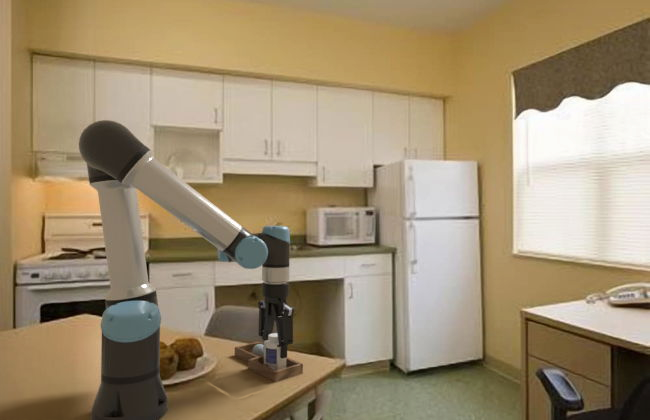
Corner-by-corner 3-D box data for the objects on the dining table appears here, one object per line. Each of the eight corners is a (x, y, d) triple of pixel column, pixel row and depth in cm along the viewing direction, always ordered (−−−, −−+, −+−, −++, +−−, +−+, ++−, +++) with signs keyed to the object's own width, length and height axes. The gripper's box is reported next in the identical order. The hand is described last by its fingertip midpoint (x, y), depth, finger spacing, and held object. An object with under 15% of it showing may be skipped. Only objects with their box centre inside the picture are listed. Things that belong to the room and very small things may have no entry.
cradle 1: (258, 368, 123) (258, 357, 123) (234, 357, 132) (234, 347, 132) (284, 361, 129) (284, 351, 129) (259, 350, 138) (259, 341, 138)
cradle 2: (275, 383, 112) (275, 372, 112) (247, 370, 121) (248, 359, 121) (302, 375, 118) (302, 364, 118) (274, 362, 127) (274, 352, 127)
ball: (257, 360, 128) (257, 347, 128) (249, 357, 131) (250, 343, 131) (268, 357, 130) (268, 344, 130) (261, 354, 133) (261, 341, 133)
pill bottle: (281, 371, 117) (281, 338, 117) (263, 369, 118) (263, 337, 118) (287, 364, 122) (287, 332, 122) (269, 363, 123) (269, 331, 123)
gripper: (307, 284, 116) (306, 372, 115) (267, 276, 129) (266, 355, 129) (285, 287, 110) (284, 379, 110) (245, 279, 124) (245, 360, 124)
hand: (274, 366), depth 120 cm, fingers closed on pill bottle, 5 cm apart
